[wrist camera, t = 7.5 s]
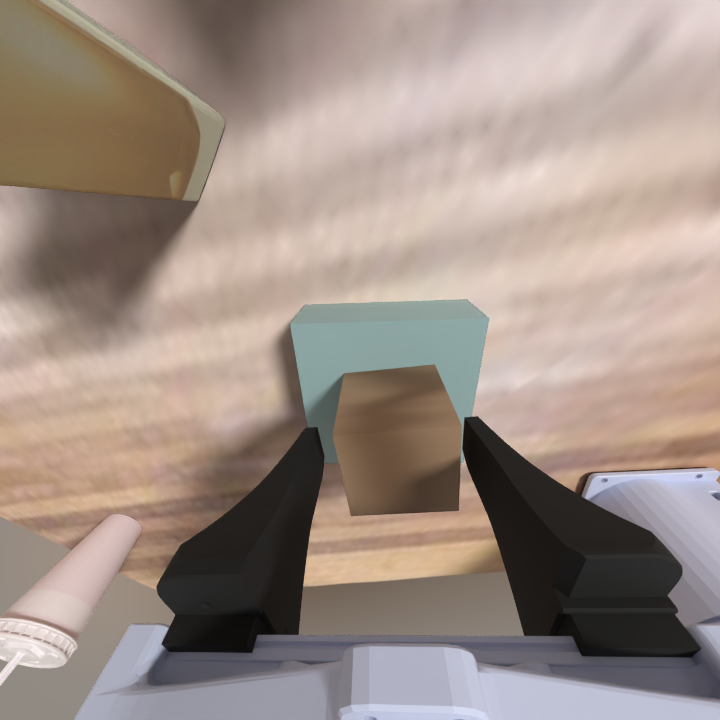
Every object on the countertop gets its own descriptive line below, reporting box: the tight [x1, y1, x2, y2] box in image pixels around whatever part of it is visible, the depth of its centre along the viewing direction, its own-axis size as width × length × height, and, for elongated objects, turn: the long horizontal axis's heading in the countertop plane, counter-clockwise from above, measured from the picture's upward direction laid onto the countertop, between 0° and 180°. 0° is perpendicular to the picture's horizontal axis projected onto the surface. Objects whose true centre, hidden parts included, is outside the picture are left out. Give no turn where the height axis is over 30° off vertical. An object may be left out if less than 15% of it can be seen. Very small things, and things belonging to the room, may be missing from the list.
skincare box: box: [0, 0, 225, 201], centre depth 8 cm, size 6×4×12 cm
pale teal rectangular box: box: [290, 299, 489, 463], centre depth 18 cm, size 10×10×4 cm
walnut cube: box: [332, 364, 462, 516], centre depth 14 cm, size 5×5×5 cm
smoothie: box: [0, 514, 142, 686], centre depth 23 cm, size 6×6×14 cm
